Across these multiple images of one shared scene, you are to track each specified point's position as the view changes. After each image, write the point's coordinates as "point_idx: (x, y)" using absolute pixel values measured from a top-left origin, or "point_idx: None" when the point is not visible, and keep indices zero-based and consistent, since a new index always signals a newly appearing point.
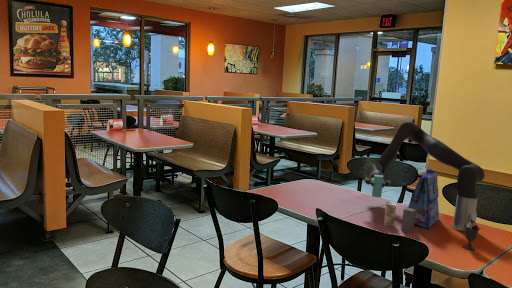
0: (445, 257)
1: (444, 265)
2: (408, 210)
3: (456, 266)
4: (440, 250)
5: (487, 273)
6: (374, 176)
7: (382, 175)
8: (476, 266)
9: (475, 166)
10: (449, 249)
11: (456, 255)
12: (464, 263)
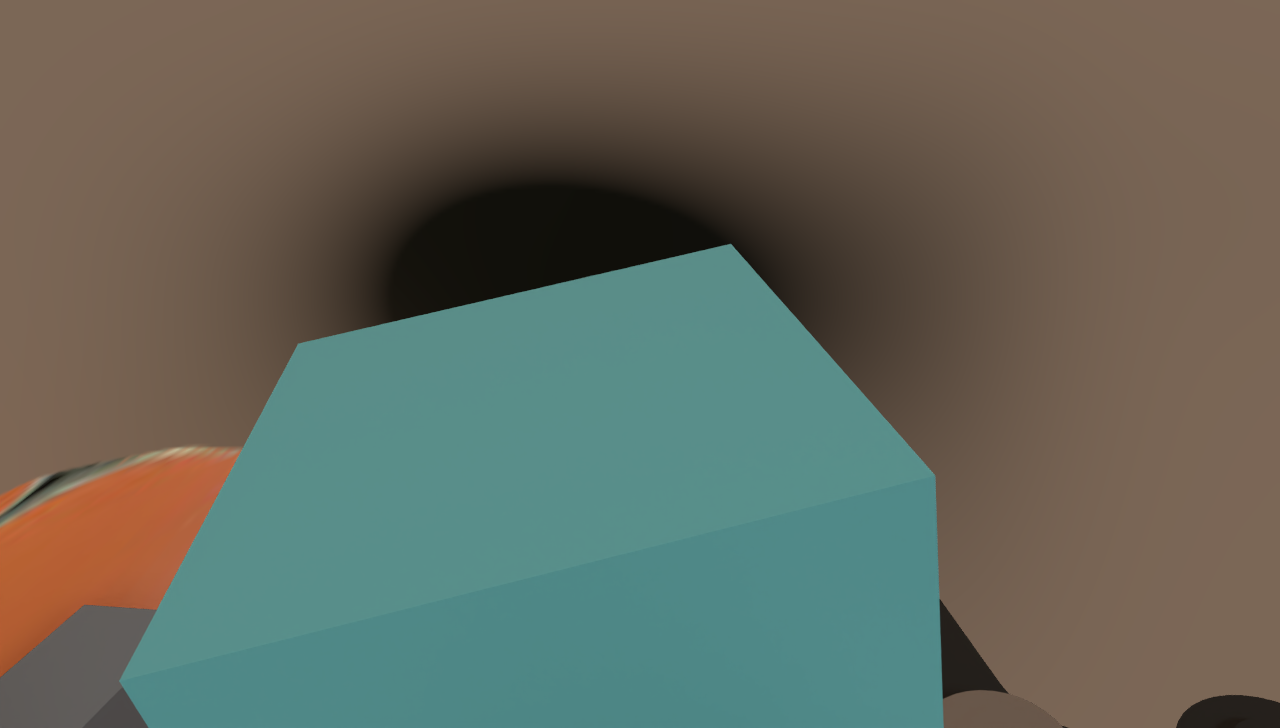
0: (152, 526)
1: (224, 448)
2: (135, 609)
3: (154, 471)
4: (116, 601)
5: (13, 492)
6: (723, 254)
7: (181, 627)
8: (12, 527)
9: None
10: (10, 659)
11: (34, 591)
12: (68, 521)
